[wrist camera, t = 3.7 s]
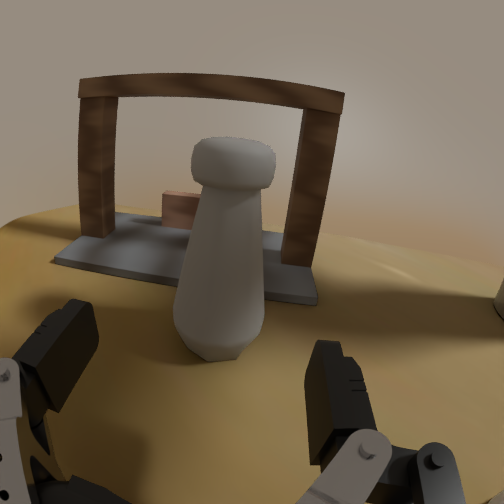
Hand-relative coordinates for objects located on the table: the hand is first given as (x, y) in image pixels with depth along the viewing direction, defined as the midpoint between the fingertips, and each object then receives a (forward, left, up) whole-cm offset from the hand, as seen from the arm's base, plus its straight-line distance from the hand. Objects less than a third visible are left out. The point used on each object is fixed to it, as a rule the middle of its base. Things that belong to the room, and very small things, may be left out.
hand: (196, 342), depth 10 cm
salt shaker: (-3, -8, -7) cm, 11 cm away
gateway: (-2, -21, -7) cm, 23 cm away
